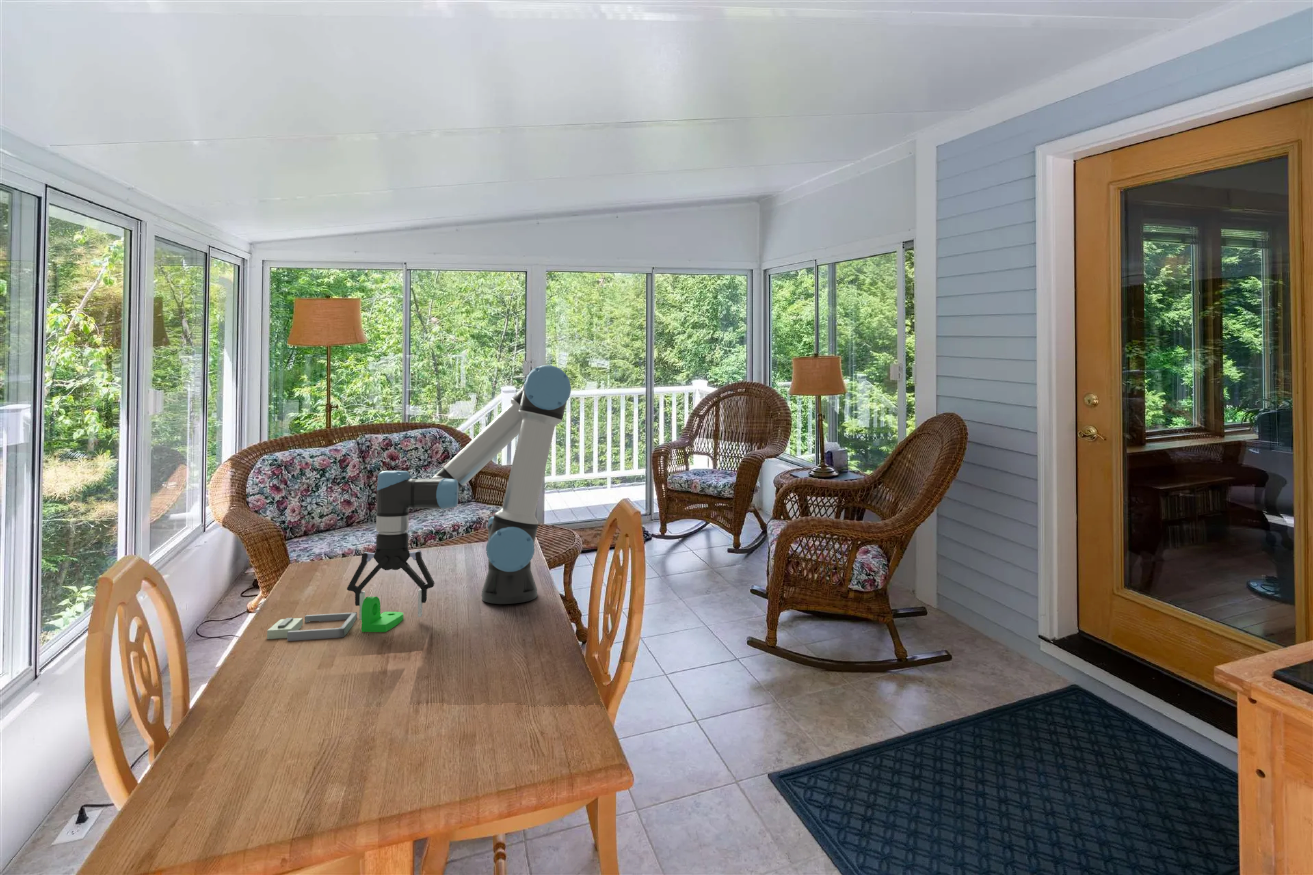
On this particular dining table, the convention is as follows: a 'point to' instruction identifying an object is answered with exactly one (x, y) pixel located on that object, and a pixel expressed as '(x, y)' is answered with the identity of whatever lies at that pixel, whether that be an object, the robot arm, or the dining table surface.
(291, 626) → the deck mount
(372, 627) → the mechanical part
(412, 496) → the robot arm
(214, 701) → the dining table surface
